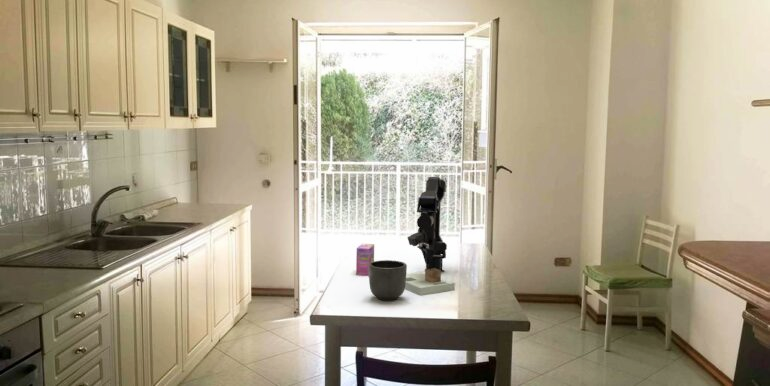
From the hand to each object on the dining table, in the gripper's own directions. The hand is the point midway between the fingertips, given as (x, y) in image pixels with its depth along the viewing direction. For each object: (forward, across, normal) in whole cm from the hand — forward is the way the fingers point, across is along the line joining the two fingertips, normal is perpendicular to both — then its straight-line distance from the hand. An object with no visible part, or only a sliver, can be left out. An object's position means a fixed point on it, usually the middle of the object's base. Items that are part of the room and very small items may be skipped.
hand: (427, 264), depth 247 cm
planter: (+8, +11, -25) cm, 28 cm away
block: (+6, +4, 0) cm, 7 cm away
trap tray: (+8, 0, -3) cm, 9 cm away
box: (+8, -29, -13) cm, 33 cm away
